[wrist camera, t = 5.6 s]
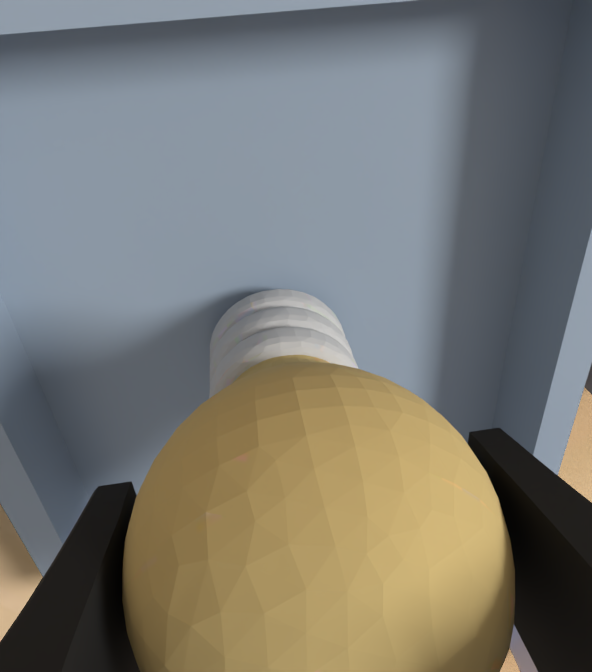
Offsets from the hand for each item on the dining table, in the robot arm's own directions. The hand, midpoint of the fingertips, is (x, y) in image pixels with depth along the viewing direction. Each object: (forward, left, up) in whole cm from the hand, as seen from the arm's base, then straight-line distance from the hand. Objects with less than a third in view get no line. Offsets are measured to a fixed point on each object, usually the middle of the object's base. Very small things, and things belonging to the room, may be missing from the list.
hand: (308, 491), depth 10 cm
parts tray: (0, 0, -6) cm, 6 cm away
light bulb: (0, 0, -6) cm, 6 cm away
